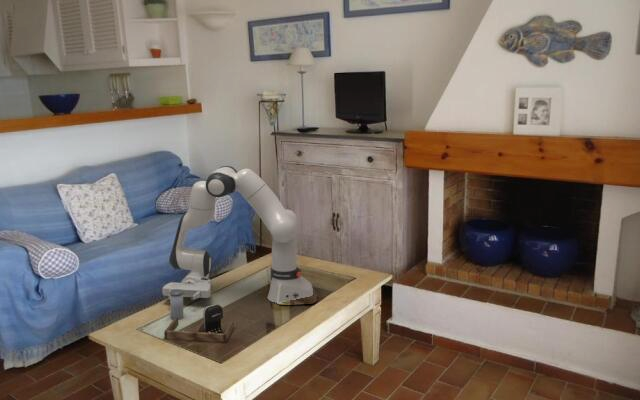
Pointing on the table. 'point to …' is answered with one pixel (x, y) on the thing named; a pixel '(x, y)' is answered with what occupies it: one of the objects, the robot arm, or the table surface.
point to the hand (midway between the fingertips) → (181, 297)
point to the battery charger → (213, 318)
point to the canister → (176, 303)
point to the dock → (197, 333)
